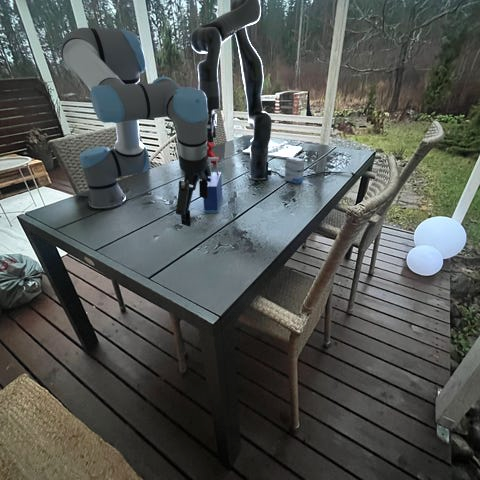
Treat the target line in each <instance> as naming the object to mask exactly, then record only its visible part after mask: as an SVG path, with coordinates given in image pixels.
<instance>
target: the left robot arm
mask: <svg viewBox="0 0 480 480" xmlns="http://www.w3.org/2000/svg"><path fill="white" fill-rule="evenodd" d="M59 50H60V56H61V59H62V61H63V63H64V65H65V66H66V68H67V69H68V70H69V71H70V72H71V73H72V74H74V75H75V76H77V77H79V78H80V80H81V81H82V82H83V83H84V84H85V86H86V87H87V88H88V89H89V94H90V95H89V96H90V100H91V101H90V102H91V105H92V108H93V111H94V113H95V116H96V117H97V119H98V120H99V121H100V122H102V123H103V124H109V123H114V124H115V132H116V139H117V140H116V141H115V142H114V149H110V148H109V147H107V146H96V147H92V148H89V149H86V150H84V151H83V152H81V153H80V154H79V162H80V168H82V171H83V174H84V177H85V180H86V184H87V187H88V195H83V194H78V197H79V198H83V199H88V205H89V207H90V208H91V209H92V210H96V211H97V210H98V211H105V210H112V209H115V208H118V207H120V206H122V205H124V204H125V203H126V201H127V195H126V193H124V191H123V190H122V188H121V187H120V185H119V184H118V180H117V179H118V178H122V177H123V178H124V177H129V176H134V175H136V174H137V175H139V174H142V173H146V172H147V171H148V170H149V168H150V163H151V159H150V156H149V155H150V154H149V151H148V148H147V147H146V146H145V145H144V144H143V142H142V141H140V127H139V126H140V125H139V124H140V123H139V121H140V120H149V119H150V120H151V119H159V118H160V119H161V118H168V119H169V120H170V121H171V122H172V123H174V125H175V130H176V140H177V141H176V142H177V153H178V163H179V164H178V165H179V168H180V169H181V171H183V173H184V176H183V177H184V178H183V180H181V179H180V180H179V181H178V194H177V200H176V208H175V214H176V215H179V216H180V220H181V225H183V226H186V227H189V228H190V227H191V225H192V224H191V223H192V221H191V220H192V219H191V210H190V206H191V202H192V197H193V193H194V191H196V188H197V184H198V189H199V190H198V191H199V195H198V196H199V197H200V198H202V199H203V198H206V199H207V198H208V182H210V181H211V179H210V178H208V177H210V176H211V172H212V171H211V172H210V169H209V162H208V159H207V150H208V148H209V147H208V146H207V122H208V110H207V109H208V108H207V97H206V95H205V93H204V92H203V91H201V90H199V88H198V89H197V88H196V87H191V86H185V87H184V86H183V87H182V86H181V85H180V84H179V83H178V82H176V81H175V80H173V79H171V78H170V77H167V76H158V77H157V78H156V79H154V80H153V81H152V82H150V83H139V82H140V81H141V77H140V75H141V74H143V73H145V72H146V70H147V61H146V56H145V53H144V49H143V46H142V43H141V41H140V39H139V37H138V36H137V35H136V34H135V32H133V31H131V30H127V29H126V30H125V29H121V28H97V27H95V28H94V27H79V28H75V29H73V30H71V31H69V32H68V33H67V34H66V35H65V36H64V37H63V39H62V41H61V44H60V49H59Z"/></svg>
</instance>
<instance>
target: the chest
mask: <svg viewBox="0 0 480 480" xmlns="http://www.w3.org/2000/svg"><path fill="white" fill-rule="evenodd" d="M202 199H203V211H204V214H219V211H220V208H221V204H222V200H223V183H222V176H221V177H220V180H219V183H218V186H217V189H208V198H207V199H206V198H202Z"/></svg>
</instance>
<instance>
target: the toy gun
mask: <svg viewBox="0 0 480 480" xmlns="http://www.w3.org/2000/svg"><path fill="white" fill-rule="evenodd" d="M207 146H208V147H209V148H208V150H207V160H208V157H218V165H219V164H220V161H221V158H220V157H219V156H218V155H217V154H215V153H214V151H213V149H214V148H215V145H214V142H212V143H208V141H207ZM211 165H212V166H213V167H216V161H211Z"/></svg>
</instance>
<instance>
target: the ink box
mask: <svg viewBox="0 0 480 480" xmlns="http://www.w3.org/2000/svg"><path fill="white" fill-rule="evenodd" d="M305 162H306V159H304V158H299V157H296V156H294V157H289V158H287V159H286V158H285V169H284V176H285V178H284V181H285V182H289V183H293V184H295V185H298V184H300V183H302V182H303V180H304V178H303V176H304V173H305V171H304V170H305Z"/></svg>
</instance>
